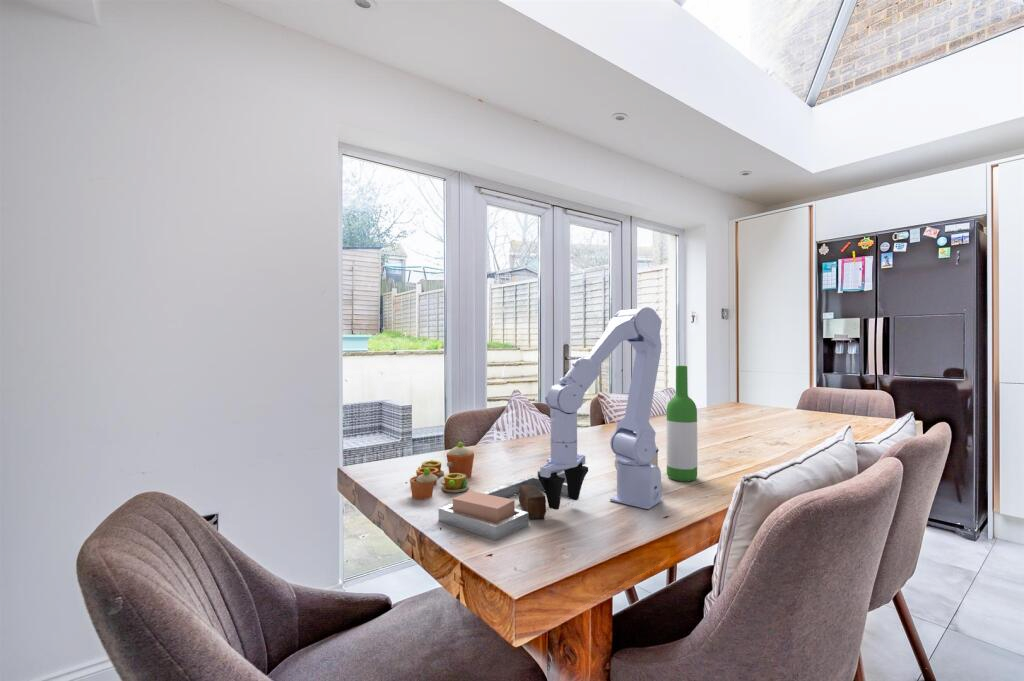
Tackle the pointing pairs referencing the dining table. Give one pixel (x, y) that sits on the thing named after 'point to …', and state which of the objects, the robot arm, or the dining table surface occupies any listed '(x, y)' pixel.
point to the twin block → (484, 506)
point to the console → (560, 475)
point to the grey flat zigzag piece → (489, 528)
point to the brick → (532, 501)
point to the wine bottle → (681, 432)
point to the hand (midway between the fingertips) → (563, 503)
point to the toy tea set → (431, 470)
